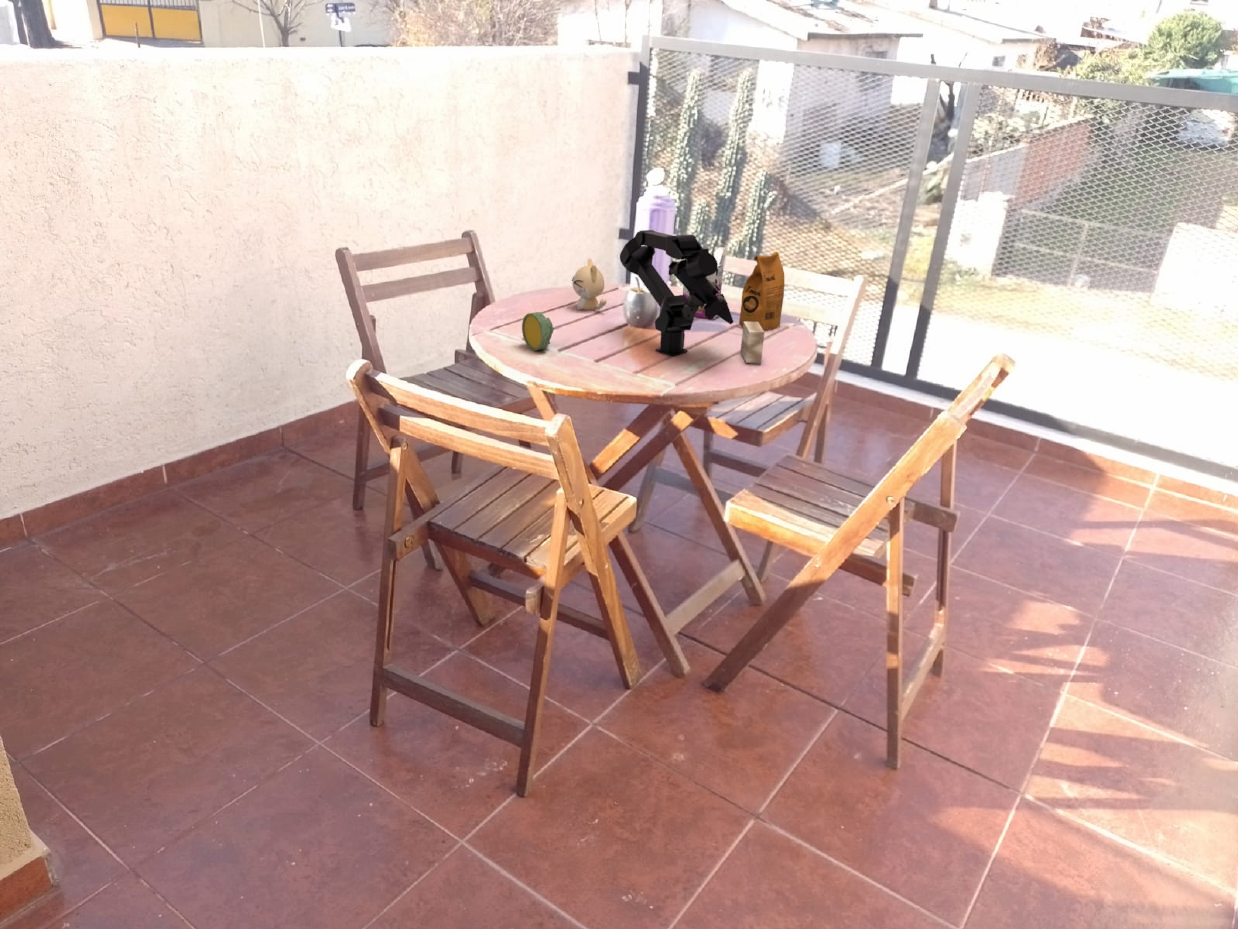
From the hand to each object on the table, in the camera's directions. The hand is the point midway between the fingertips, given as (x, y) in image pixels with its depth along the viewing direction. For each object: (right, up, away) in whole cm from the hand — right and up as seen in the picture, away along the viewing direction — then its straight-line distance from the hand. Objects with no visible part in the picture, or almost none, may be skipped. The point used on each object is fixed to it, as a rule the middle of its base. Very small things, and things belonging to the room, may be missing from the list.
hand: (731, 322), depth 240 cm
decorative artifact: (-51, -6, +6) cm, 52 cm away
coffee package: (+13, +4, +34) cm, 36 cm away
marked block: (+6, -9, +4) cm, 12 cm away
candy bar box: (-5, +9, +42) cm, 43 cm away
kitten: (-40, +11, +44) cm, 61 cm away
